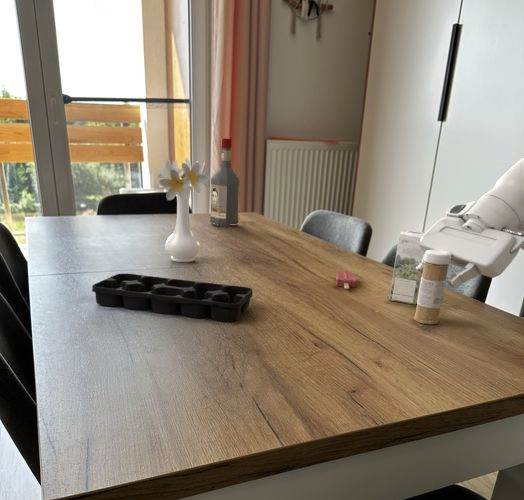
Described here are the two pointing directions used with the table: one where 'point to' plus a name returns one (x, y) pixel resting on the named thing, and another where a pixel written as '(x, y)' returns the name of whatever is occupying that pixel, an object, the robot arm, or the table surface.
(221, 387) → the table surface
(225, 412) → the table surface
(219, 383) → the table surface
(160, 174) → the flower vase
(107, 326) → the table surface
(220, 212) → the liquor
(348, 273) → the popsicle
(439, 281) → the spice jar
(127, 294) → the egg carton
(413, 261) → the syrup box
